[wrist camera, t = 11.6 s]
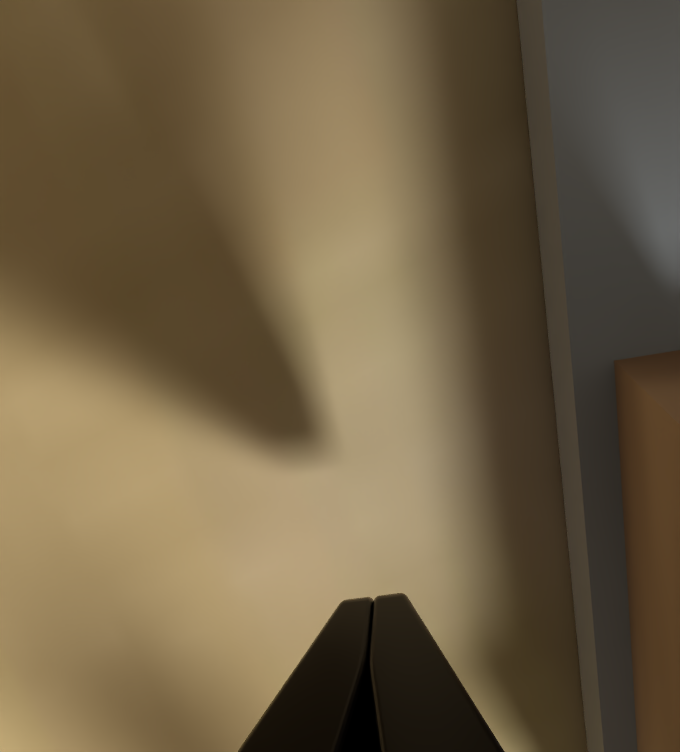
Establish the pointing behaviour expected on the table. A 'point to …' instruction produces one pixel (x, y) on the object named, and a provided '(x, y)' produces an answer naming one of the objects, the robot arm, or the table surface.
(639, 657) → the door
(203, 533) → the table surface
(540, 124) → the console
